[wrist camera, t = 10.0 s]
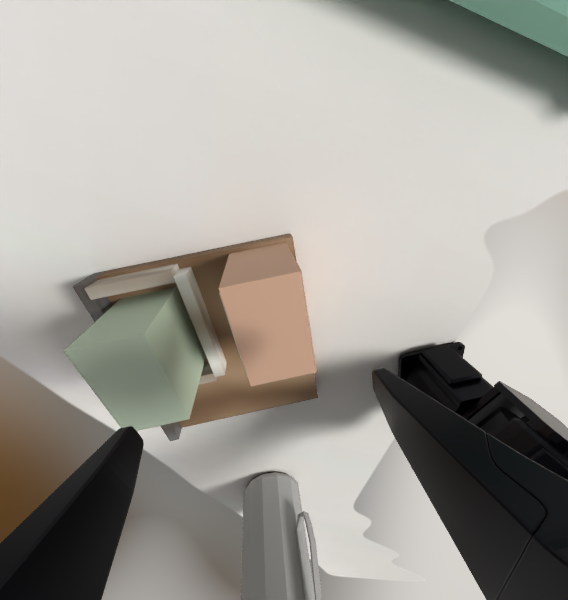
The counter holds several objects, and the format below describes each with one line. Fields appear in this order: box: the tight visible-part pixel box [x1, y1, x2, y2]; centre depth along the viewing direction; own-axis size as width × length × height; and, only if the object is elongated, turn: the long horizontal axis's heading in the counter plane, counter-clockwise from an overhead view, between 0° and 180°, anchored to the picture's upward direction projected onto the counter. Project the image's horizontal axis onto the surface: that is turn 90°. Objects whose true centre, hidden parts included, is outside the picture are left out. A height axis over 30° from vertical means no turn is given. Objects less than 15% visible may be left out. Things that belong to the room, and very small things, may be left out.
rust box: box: [219, 242, 317, 386], centre depth 16 cm, size 4×6×6 cm, turn 10°
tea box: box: [64, 287, 206, 431], centre depth 16 cm, size 4×6×6 cm, turn 10°
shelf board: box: [73, 234, 318, 441], centre depth 20 cm, size 16×15×3 cm
